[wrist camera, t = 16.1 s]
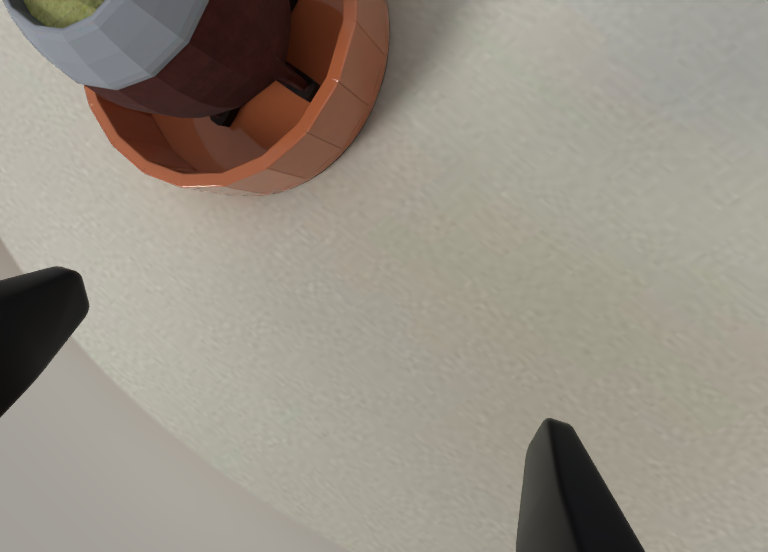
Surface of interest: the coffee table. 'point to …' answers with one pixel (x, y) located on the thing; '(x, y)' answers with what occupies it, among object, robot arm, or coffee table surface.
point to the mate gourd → (168, 51)
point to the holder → (269, 111)
